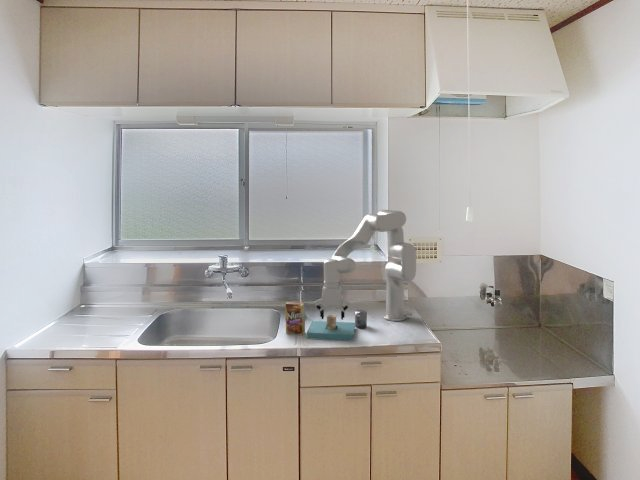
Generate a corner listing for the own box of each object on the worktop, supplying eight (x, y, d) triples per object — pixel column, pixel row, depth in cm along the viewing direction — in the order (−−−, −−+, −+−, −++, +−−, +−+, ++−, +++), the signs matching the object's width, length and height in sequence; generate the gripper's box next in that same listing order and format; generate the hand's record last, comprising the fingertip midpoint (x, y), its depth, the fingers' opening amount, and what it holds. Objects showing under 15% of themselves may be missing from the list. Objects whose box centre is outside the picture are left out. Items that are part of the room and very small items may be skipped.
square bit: (336, 332, 189) (336, 314, 188) (335, 335, 185) (335, 317, 184) (328, 331, 189) (328, 314, 188) (326, 334, 185) (326, 316, 184)
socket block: (354, 328, 194) (354, 322, 193) (353, 340, 178) (353, 334, 177) (312, 326, 196) (311, 320, 196) (306, 338, 181) (306, 332, 180)
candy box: (285, 333, 187) (284, 303, 185) (288, 330, 191) (288, 301, 189) (302, 335, 184) (302, 305, 182) (305, 332, 189) (305, 302, 186)
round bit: (366, 324, 199) (366, 309, 198) (366, 329, 193) (366, 313, 192) (355, 324, 199) (355, 309, 198) (354, 328, 194) (354, 313, 192)
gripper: (350, 282, 186) (350, 316, 189) (315, 282, 189) (316, 315, 191) (349, 287, 179) (349, 321, 182) (313, 286, 181) (313, 320, 184)
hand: (332, 318), depth 186 cm, fingers open, 9 cm apart
